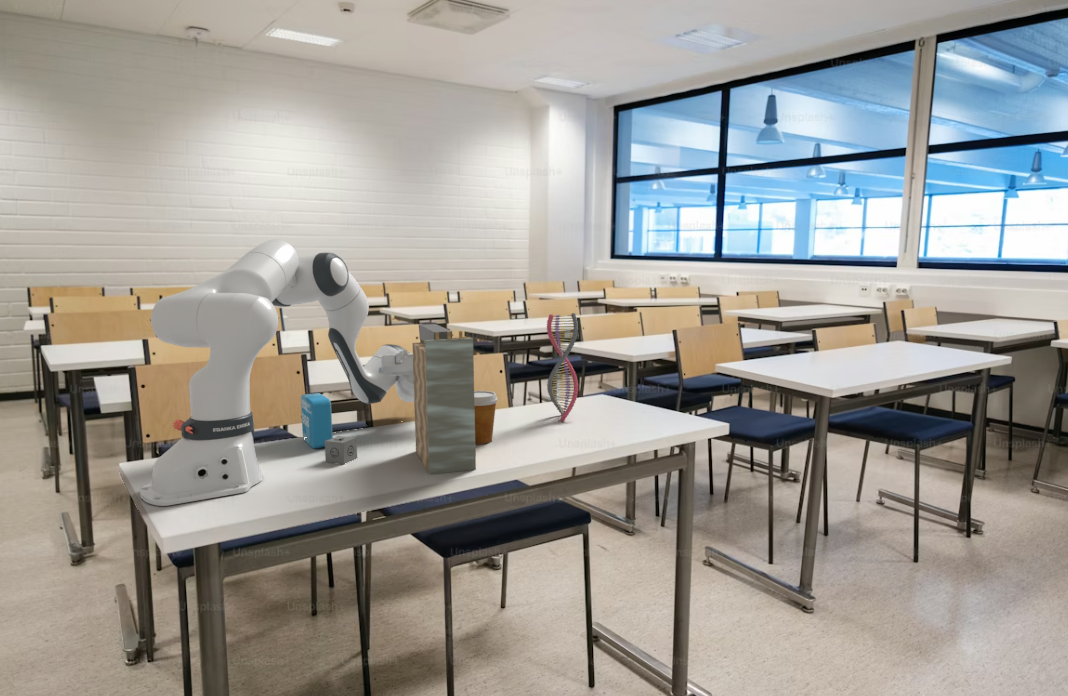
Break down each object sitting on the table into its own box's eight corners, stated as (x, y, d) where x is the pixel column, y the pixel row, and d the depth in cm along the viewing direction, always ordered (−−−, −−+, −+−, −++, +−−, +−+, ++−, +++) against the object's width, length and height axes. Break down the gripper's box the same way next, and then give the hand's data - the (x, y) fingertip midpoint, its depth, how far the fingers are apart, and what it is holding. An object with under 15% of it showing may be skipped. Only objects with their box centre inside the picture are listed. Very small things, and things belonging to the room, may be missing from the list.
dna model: (546, 421, 195) (546, 314, 192) (547, 414, 204) (546, 312, 200) (578, 421, 195) (578, 314, 191) (578, 414, 204) (577, 312, 200)
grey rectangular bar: (419, 338, 171) (419, 324, 171) (436, 338, 172) (435, 324, 172) (434, 348, 152) (434, 332, 152) (452, 347, 154) (452, 331, 153)
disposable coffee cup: (499, 436, 179) (499, 390, 178) (496, 446, 170) (495, 397, 169) (463, 436, 180) (461, 390, 178) (457, 446, 170) (456, 397, 169)
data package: (302, 439, 178) (300, 393, 177) (320, 437, 180) (318, 391, 179) (314, 450, 168) (312, 401, 166) (333, 447, 170) (331, 399, 169)
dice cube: (325, 462, 158) (324, 441, 157) (338, 456, 162) (338, 435, 162) (344, 464, 156) (343, 442, 155) (357, 458, 160) (356, 437, 160)
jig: (415, 451, 166) (411, 325, 162) (457, 447, 169) (454, 323, 165) (429, 474, 148) (425, 333, 144) (475, 469, 151) (472, 331, 147)
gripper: (377, 363, 190) (380, 342, 178) (451, 359, 196) (459, 338, 184) (378, 384, 187) (382, 365, 175) (453, 380, 194) (462, 360, 182)
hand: (422, 351), depth 180 cm, fingers open, 8 cm apart
